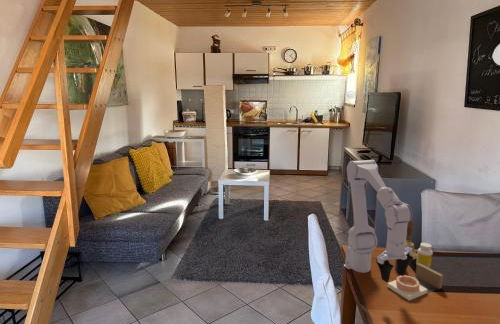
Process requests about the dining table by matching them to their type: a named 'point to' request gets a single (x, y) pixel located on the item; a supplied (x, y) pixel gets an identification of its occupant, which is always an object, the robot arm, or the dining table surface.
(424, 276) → the l-shaped bracket
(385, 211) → the robot arm
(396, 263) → the dowel
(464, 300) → the dining table surface
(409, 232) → the hand bell
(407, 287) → the square socket base
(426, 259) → the supplement bottle
